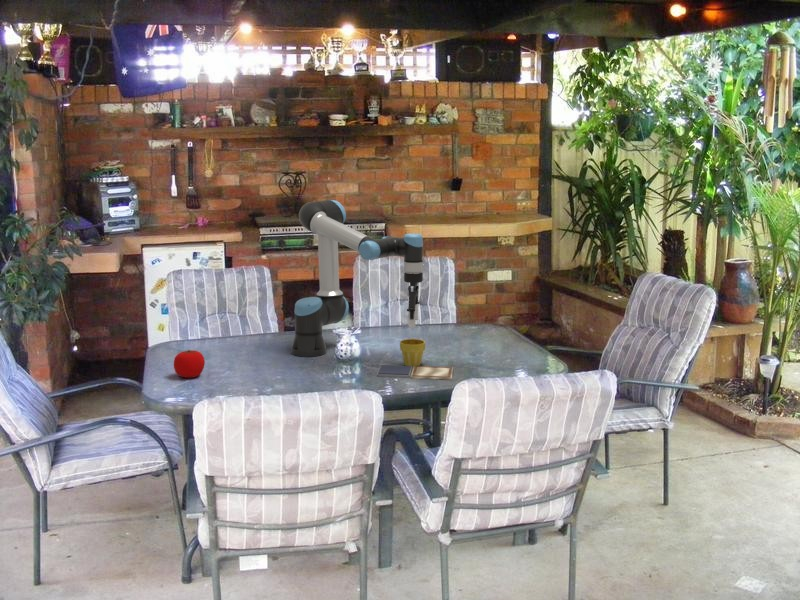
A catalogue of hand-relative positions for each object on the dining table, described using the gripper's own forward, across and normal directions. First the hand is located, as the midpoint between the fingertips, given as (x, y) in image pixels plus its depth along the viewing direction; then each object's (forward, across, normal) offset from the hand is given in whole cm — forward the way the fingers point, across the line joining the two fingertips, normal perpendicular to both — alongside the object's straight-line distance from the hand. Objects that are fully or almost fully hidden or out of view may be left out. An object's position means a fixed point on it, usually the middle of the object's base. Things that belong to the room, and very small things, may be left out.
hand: (413, 323), depth 371 cm
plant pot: (+18, 0, 0) cm, 18 cm away
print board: (+18, -13, -9) cm, 23 cm away
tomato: (+17, -28, +85) cm, 91 cm away
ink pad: (+17, -13, +6) cm, 23 cm away
